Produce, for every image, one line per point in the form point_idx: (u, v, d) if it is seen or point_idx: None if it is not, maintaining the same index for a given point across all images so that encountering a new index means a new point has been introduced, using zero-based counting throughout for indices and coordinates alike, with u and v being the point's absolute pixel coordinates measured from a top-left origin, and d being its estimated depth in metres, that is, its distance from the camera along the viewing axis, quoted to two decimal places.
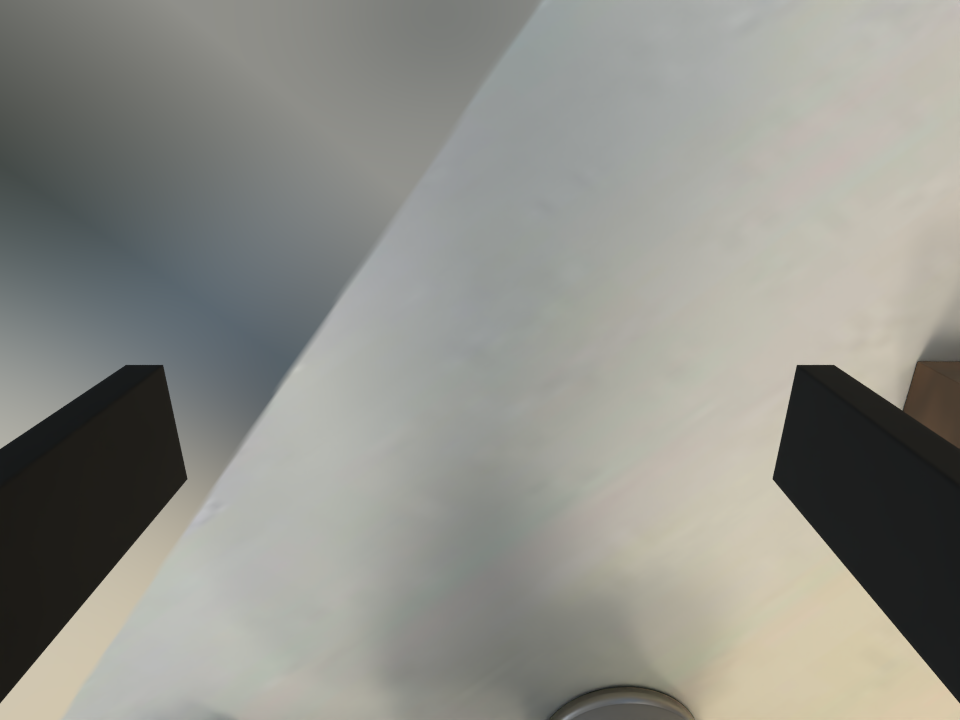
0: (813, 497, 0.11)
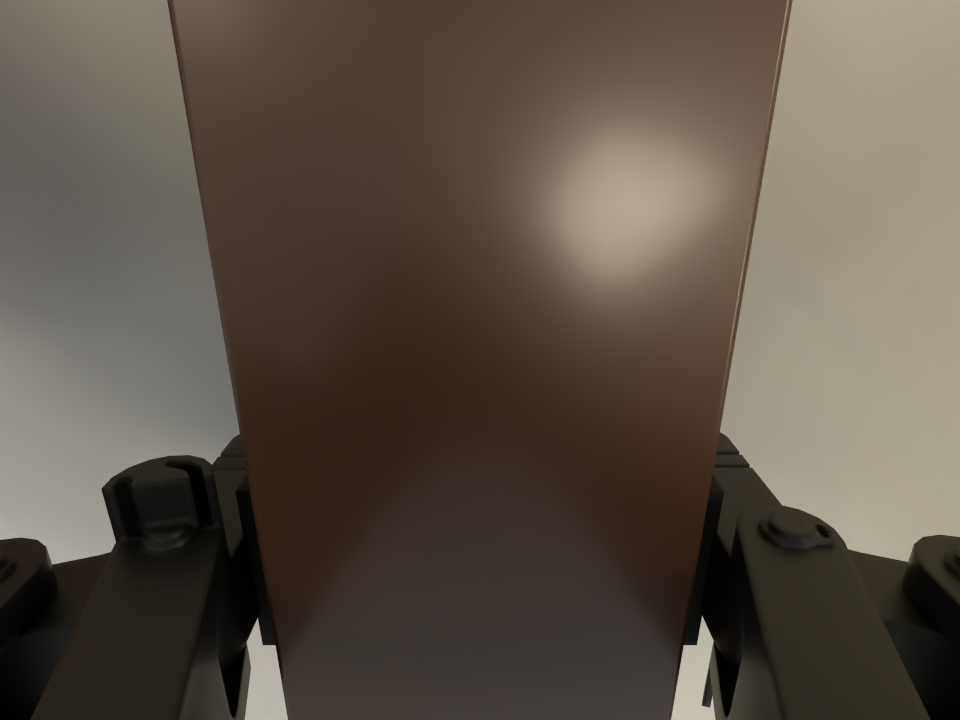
0: None
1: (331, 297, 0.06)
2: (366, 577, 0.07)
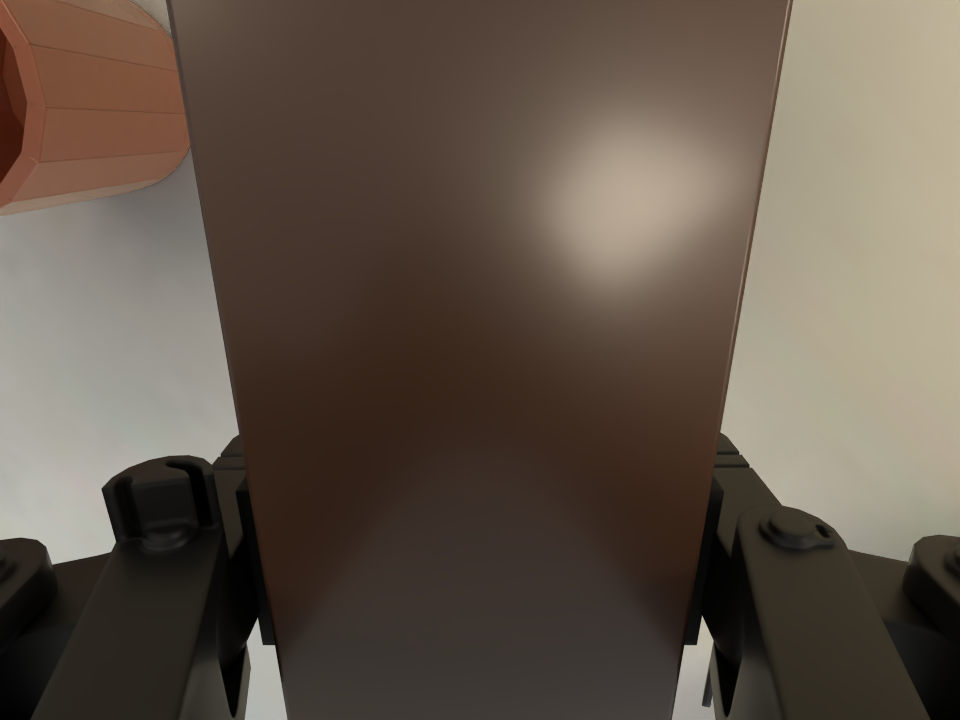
0: None
1: (330, 294, 0.05)
2: (367, 577, 0.07)
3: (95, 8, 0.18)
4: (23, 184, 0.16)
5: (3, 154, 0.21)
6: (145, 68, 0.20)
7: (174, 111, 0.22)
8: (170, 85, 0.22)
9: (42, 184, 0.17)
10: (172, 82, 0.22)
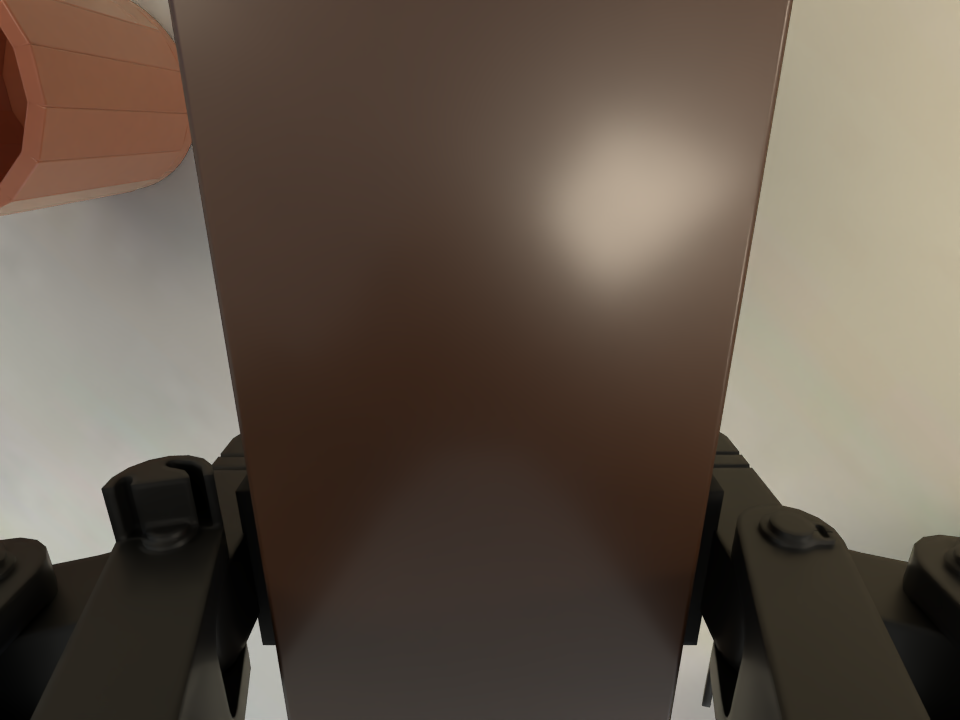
0: None
1: (331, 293, 0.06)
2: (366, 575, 0.07)
3: (95, 8, 0.18)
4: (23, 184, 0.16)
5: (3, 153, 0.21)
6: (145, 68, 0.20)
7: (174, 111, 0.22)
8: (170, 85, 0.21)
9: (42, 184, 0.17)
10: (172, 82, 0.22)
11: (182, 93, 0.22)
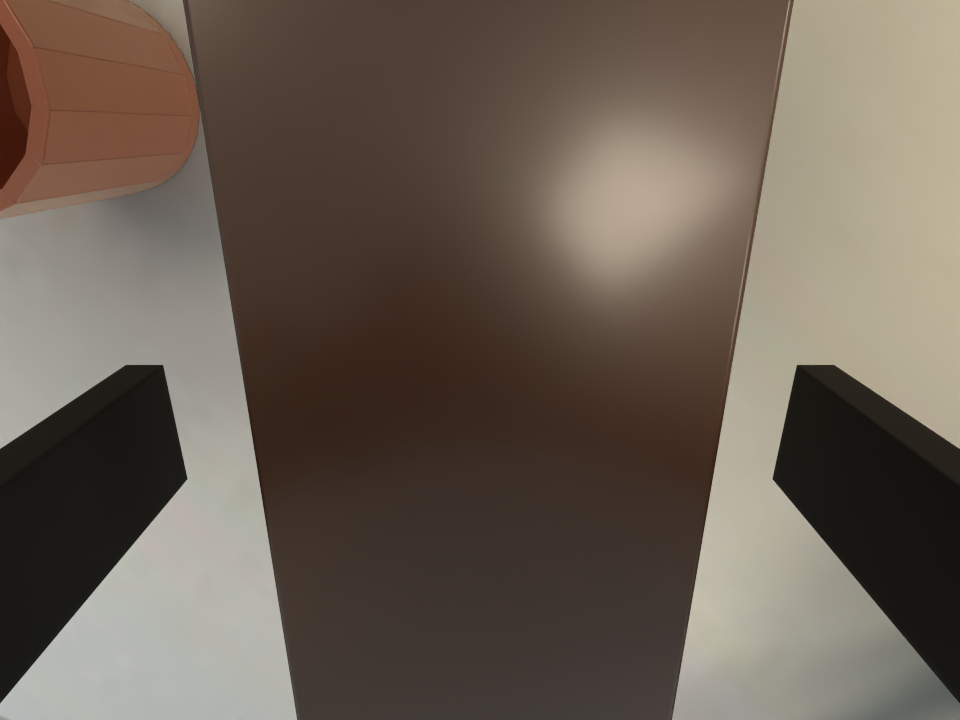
0: (813, 497, 0.11)
1: (341, 294, 0.06)
2: (373, 570, 0.07)
3: (98, 11, 0.19)
4: (27, 186, 0.16)
5: (6, 156, 0.22)
6: (148, 71, 0.20)
7: (176, 113, 0.22)
8: (173, 87, 0.22)
9: (46, 186, 0.17)
10: (175, 84, 0.22)
11: (184, 96, 0.22)
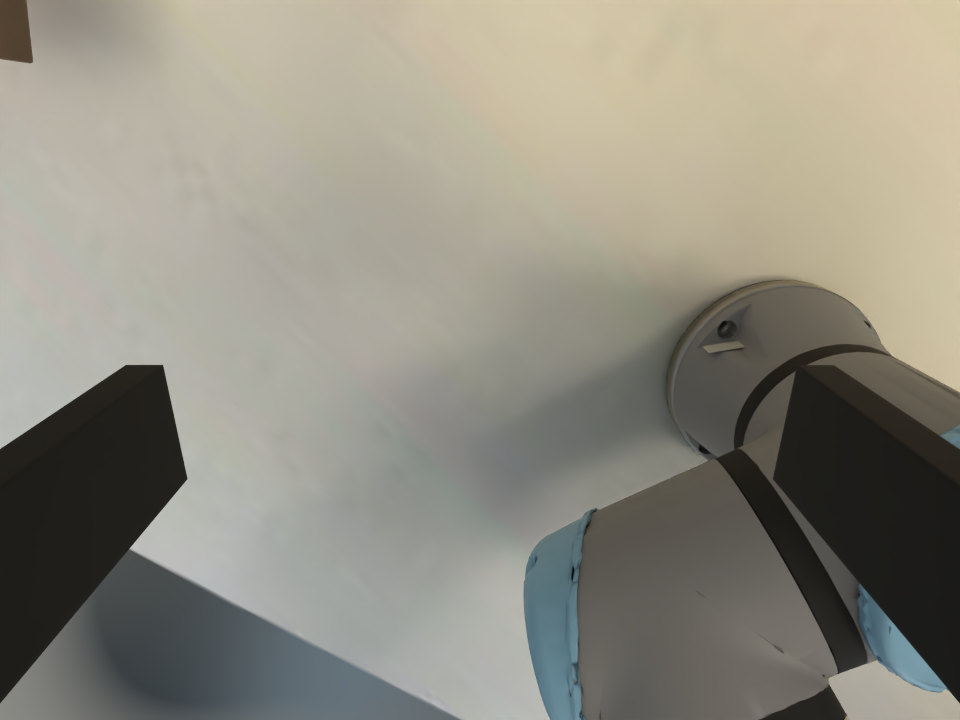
0: (813, 497, 0.11)
1: None
2: None
3: None
4: None
5: None
6: None
7: None
8: None
9: None
10: None
11: None
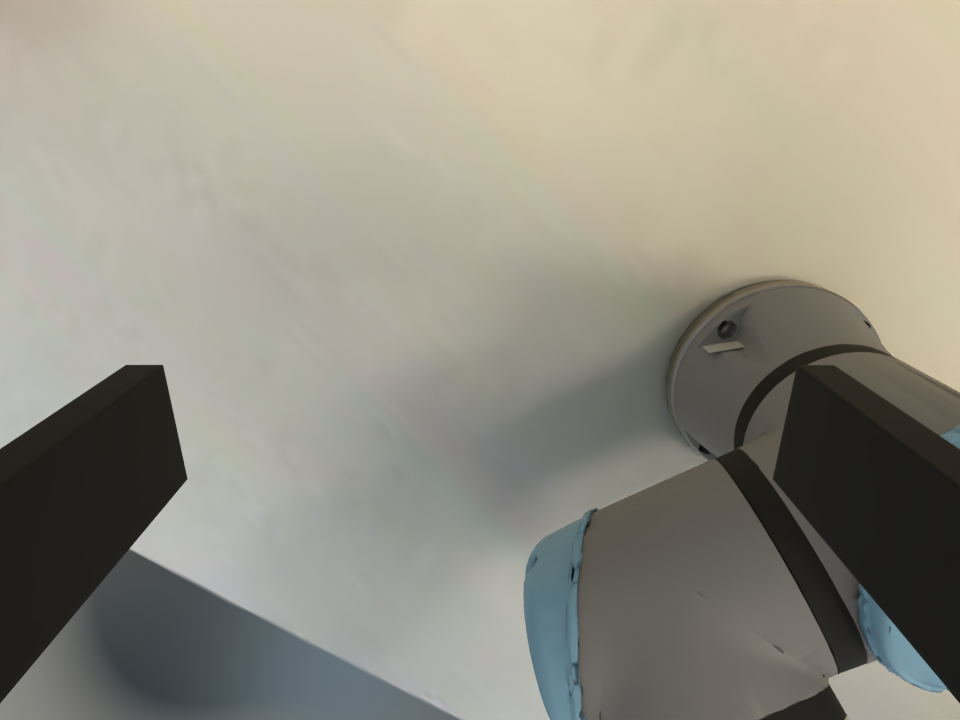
0: (813, 497, 0.11)
1: None
2: None
3: None
4: None
5: None
6: None
7: None
8: None
9: None
10: None
11: None
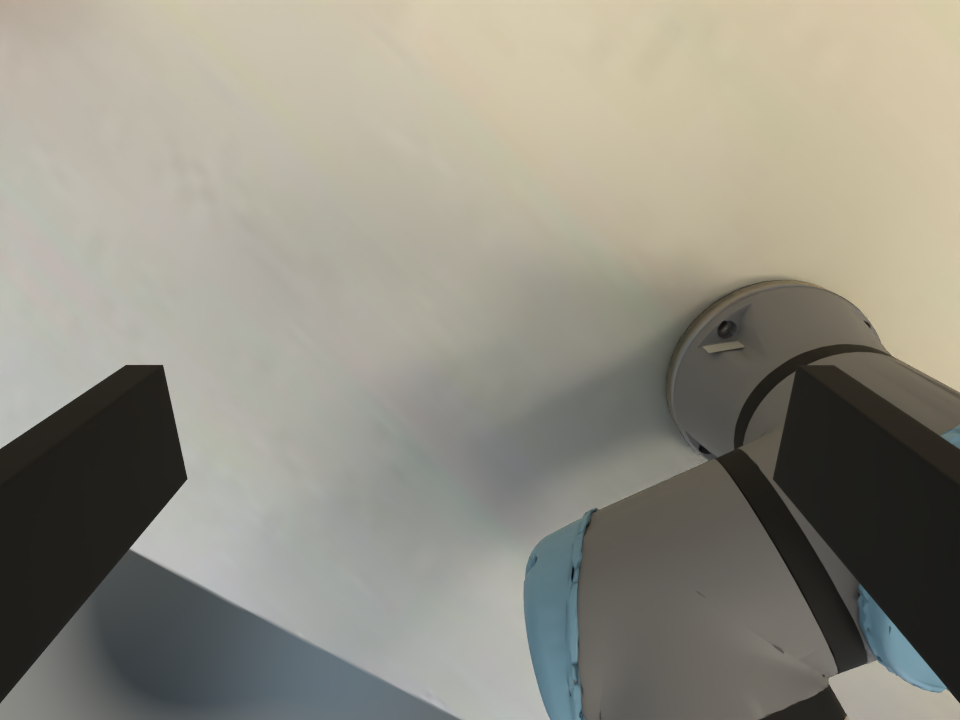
0: (813, 497, 0.11)
1: None
2: None
3: None
4: None
5: None
6: None
7: None
8: None
9: None
10: None
11: None
